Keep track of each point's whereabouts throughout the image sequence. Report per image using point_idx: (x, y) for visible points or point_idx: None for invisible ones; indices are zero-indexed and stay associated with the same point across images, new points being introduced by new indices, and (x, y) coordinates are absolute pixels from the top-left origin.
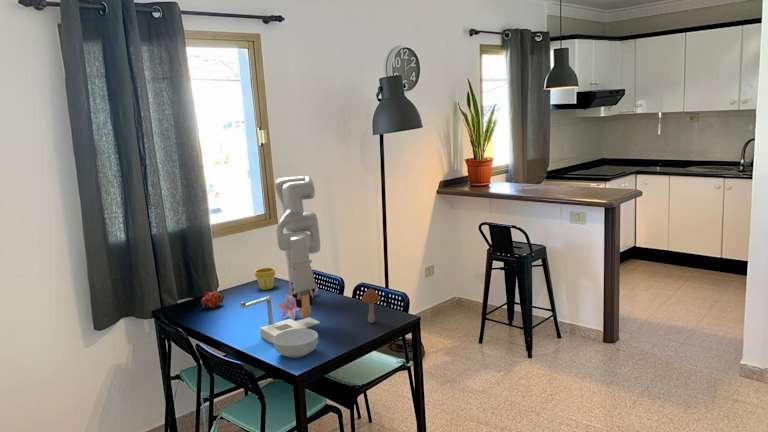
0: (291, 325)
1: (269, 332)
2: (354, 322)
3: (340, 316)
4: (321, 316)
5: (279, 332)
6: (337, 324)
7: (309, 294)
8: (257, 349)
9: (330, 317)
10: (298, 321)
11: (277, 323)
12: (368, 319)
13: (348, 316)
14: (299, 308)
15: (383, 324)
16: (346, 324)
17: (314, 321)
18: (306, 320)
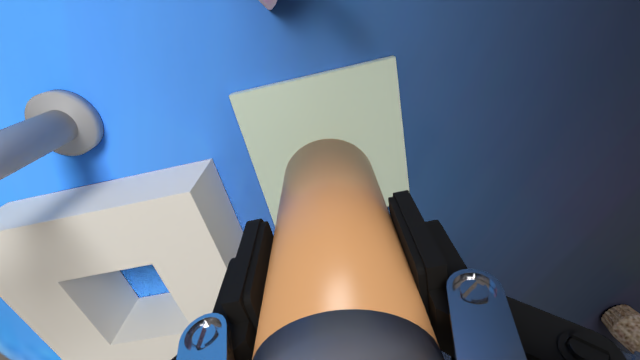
0: (185, 305)
1: (39, 333)
2: (559, 277)
3: (583, 152)
4: (490, 67)
5: (104, 354)
6: (476, 257)
7: (444, 347)
8: (20, 326)
9: (523, 130)
10: (283, 103)
11: (83, 232)
12: (613, 331)
13: (615, 182)
14: (276, 220)
15: (624, 351)
16: (510, 279)
17: (384, 170)
18: (344, 118)
